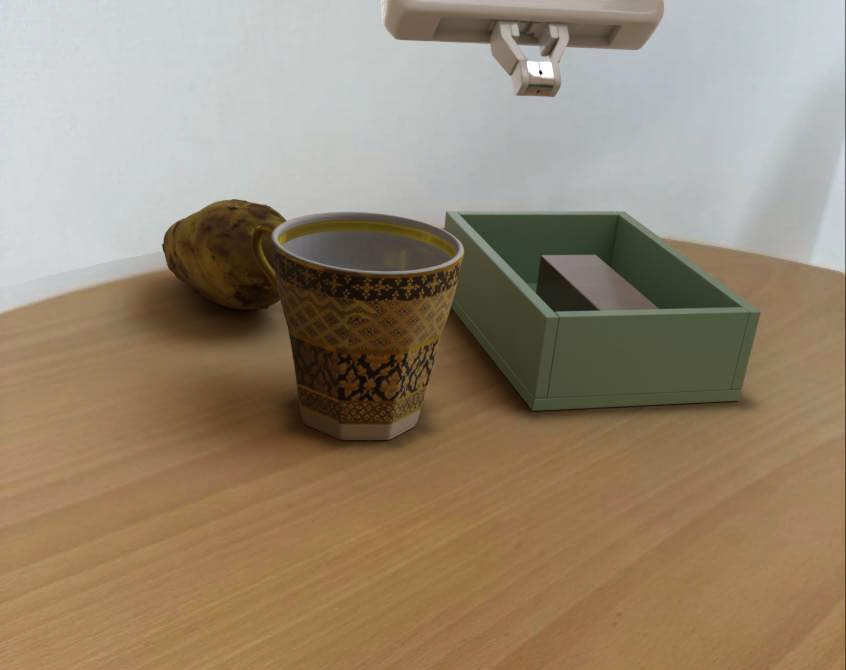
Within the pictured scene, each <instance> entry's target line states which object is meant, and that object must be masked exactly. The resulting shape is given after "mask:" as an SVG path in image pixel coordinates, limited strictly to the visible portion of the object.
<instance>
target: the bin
mask: <svg viewBox="0 0 846 670" xmlns="http://www.w3.org/2000/svg"><path fill="white" fill-rule="evenodd" d="M443 230H445V231H447V232H449V233H450V234H452V235H453V236H455V237H456V238H457V239H458V240H459V241H460V242H461V244H462V245H463V248H464V256H463V261H462V265H461V270H460V275H459V279H458V283H457V287H456V290H455V294H454V298H453V301H452V305H451V308H450V309H452V311H454V313H455V315H456V316H457V317H458V318H459V319H460V321H461V322H462V323H463V325H464V326H465V327H466V328H467V330H468V331H469V332H470V333H471V334H472V336H473V337H474V338H475V339H476V341H477V342H478V343H479V345H480V346H481V347H482V348H483V350H484V352H486V354H487V355H488V356H489V358H490V359H491V360H492V361H493V363H494V364H495V365H496V366H497V367H498V369H499V370H500V372H501V373H502V374H503V376H505V378H506V379H507V380H508V382H509V383H510V384H511V386H512V387H513V388H514V389H515V391H516V392H517V393H518V395H519V396H520V397H521V398H522V399H523V401H524V402H525V403H526V404H527V406H528V407H529V408H530V410H531V411H532V412H534V411H535V412H537V411H538V412H539V411H540V412H541V411H559V410H578V409H579V410H580V409H598V408H599V409H601V408H618V407H620V408H621V407H622V408H623V407H640V406H641V407H643V406H658V405H659V406H663V405H680V404H683V405H684V404H700V403H701V404H702V403H722V402H724V403H725V402H739V401H740V398H741V394H742V389H743V385H744V381H745V378H746V373H747V369H748V366H749V361H750V357H751V354H752V350H753V345H754V341H755V337H756V333H757V329H758V326H759V321H760V317H761V313H762V312H761V310H759V309H758V308H757V307H755V306H754V305H752V304H751V303H750V302H749V301H747V300H746V299H744V298H743V297H742V296H740V295H739V294H737V293H736V292H735V291H733V290H732V289H730V288H729V287H728V286H726V285H725V284H724V283H722V281H720V280H719V279H718V278H716V277H714V276H713V275H712V274H710V273H709V272H708V271H706V270H705V269H703V268H702V267H701V266H700V265H698V264H697V263H696V262H694V261H693V260H691V259H690V258H688V257H687V255H685V254H683V253H682V252H681V251H679V250H677V248H675V247H674V246H672V245H671V244H669V243H668V242H667V241H666V240H664V239H663V238H662V237H660V236H659V235H657V234H656V233H655V232H653V231H652V230H651V229H649V228H648V227H647V226H645V225H644V224H642V223H641V222H639V221H638V220H637V219H636V218H634V217H633V216H631V215H630V214H629V213H627V212H626V211H624V210H623V211H622V210H620V211H619V210H618V211H617V210H616V211H614V210H612V211H609V210H608V211H607V210H605V211H603V210H599V211H597V210H596V211H595V210H593V211H592V210H591V211H588V210H587V211H586V210H583V211H581V210H577V211H576V210H575V211H574V210H573V211H571V210H570V211H569V210H565V211H564V210H563V211H562V210H559V211H557V210H555V211H554V210H553V211H552V210H545V211H544V210H522V211H521V210H457V211H456V210H448V211H447V210H446V211H445V217H444V228H443ZM542 255H597V256H598V257H599V258H600V259H601V260H602V261H604V262H605V263H606V264H607V265H608V266H610V267H611V268H612V269H613V270H614V271H615V272H617V273H618V274H619V275H620V276H621V277H622V278H624V279H625V280H626V281H627V282H628V283H630V284H631V285H632V286H633V287H634V288H635V289H637V290H638V291H639V292H640V293H641V294H642V295H644V296H645V297H646V298H647V299H648V300H649V301H651V302H652V303H653V304H654V305H655V306H657V307H658V308H659V309H646V310H605V311H564V312H555V313H554V312H553V310H552V309H551V308H550V307H549V306H548V305H547V304H546V303H545V302H544V301H543V300H542V299H541V298H540V297H539V296H538V295H537V294H536V288H537V281H538V274H539V267H540V260H541V256H542Z"/></svg>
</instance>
